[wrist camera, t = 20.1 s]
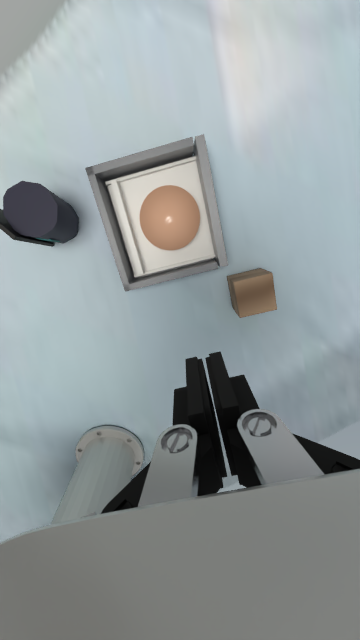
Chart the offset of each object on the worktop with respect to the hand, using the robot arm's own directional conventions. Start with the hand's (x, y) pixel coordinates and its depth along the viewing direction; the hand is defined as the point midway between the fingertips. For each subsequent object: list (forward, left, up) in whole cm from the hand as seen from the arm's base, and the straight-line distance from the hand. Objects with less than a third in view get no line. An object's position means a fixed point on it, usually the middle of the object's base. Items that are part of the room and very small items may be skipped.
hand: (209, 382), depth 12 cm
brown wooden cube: (-3, -8, -27) cm, 28 cm away
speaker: (+13, +16, -27) cm, 34 cm away
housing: (+9, +2, -27) cm, 29 cm away
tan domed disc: (+9, +1, -26) cm, 27 cm away
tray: (+9, +2, -27) cm, 29 cm away
